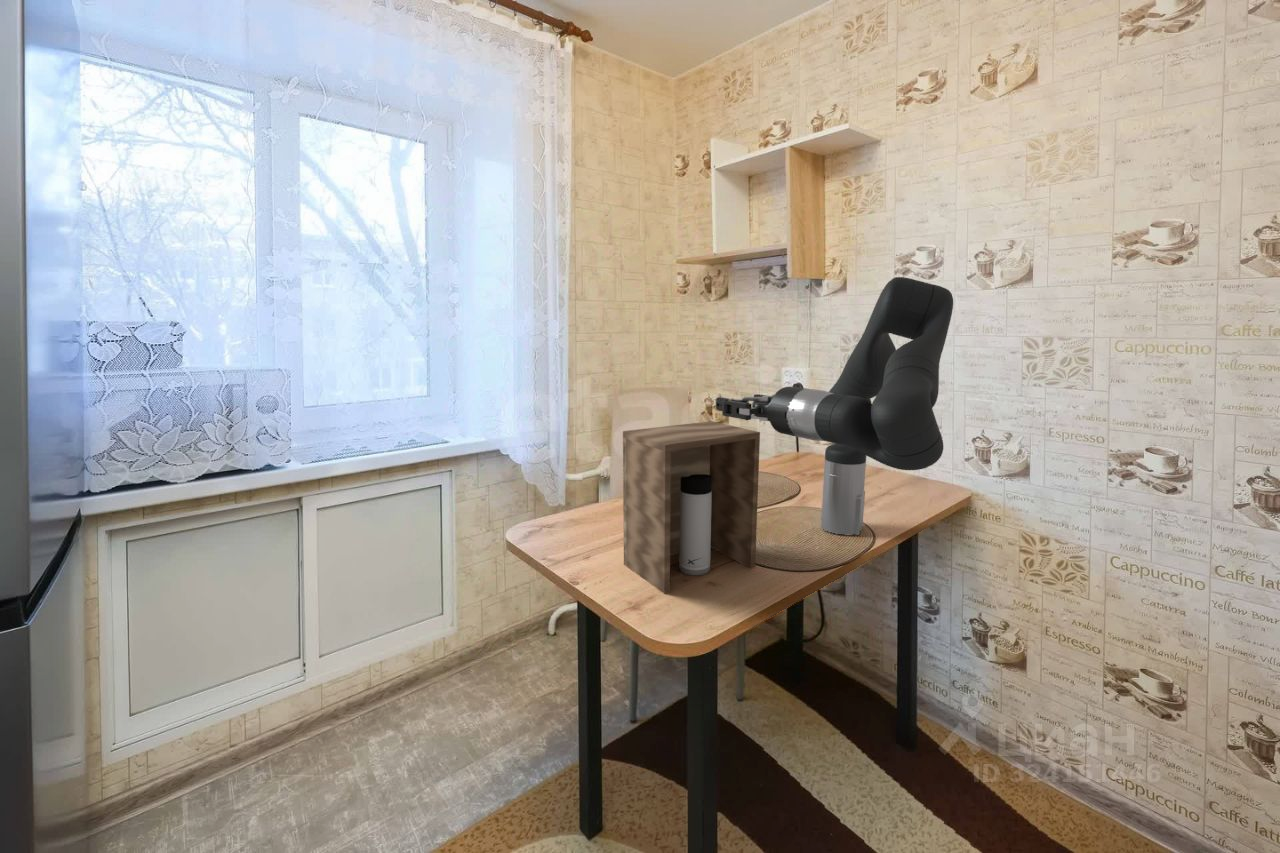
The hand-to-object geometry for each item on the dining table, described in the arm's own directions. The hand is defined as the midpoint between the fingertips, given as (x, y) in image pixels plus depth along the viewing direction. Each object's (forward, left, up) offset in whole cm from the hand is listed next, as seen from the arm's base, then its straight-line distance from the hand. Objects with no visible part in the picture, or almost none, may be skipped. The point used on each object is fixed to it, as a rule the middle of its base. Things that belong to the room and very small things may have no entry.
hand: (736, 401), depth 99 cm
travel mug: (+10, -6, -36) cm, 38 cm away
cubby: (+11, -6, -36) cm, 38 cm away
